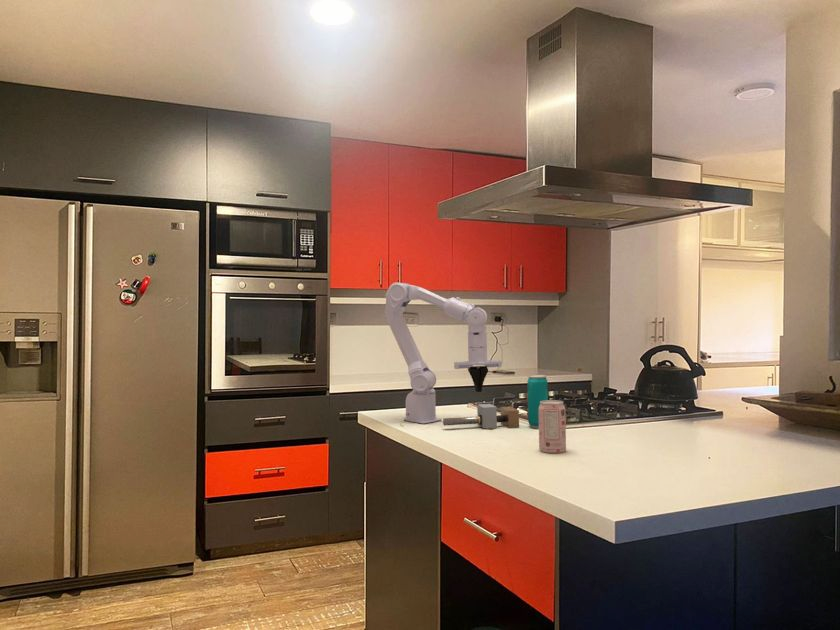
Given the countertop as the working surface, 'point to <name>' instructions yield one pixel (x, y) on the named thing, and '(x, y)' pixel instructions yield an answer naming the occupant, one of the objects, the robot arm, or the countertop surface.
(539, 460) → the countertop surface
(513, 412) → the pipe rig
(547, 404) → the beverage can
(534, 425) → the beverage can
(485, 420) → the sleeve
